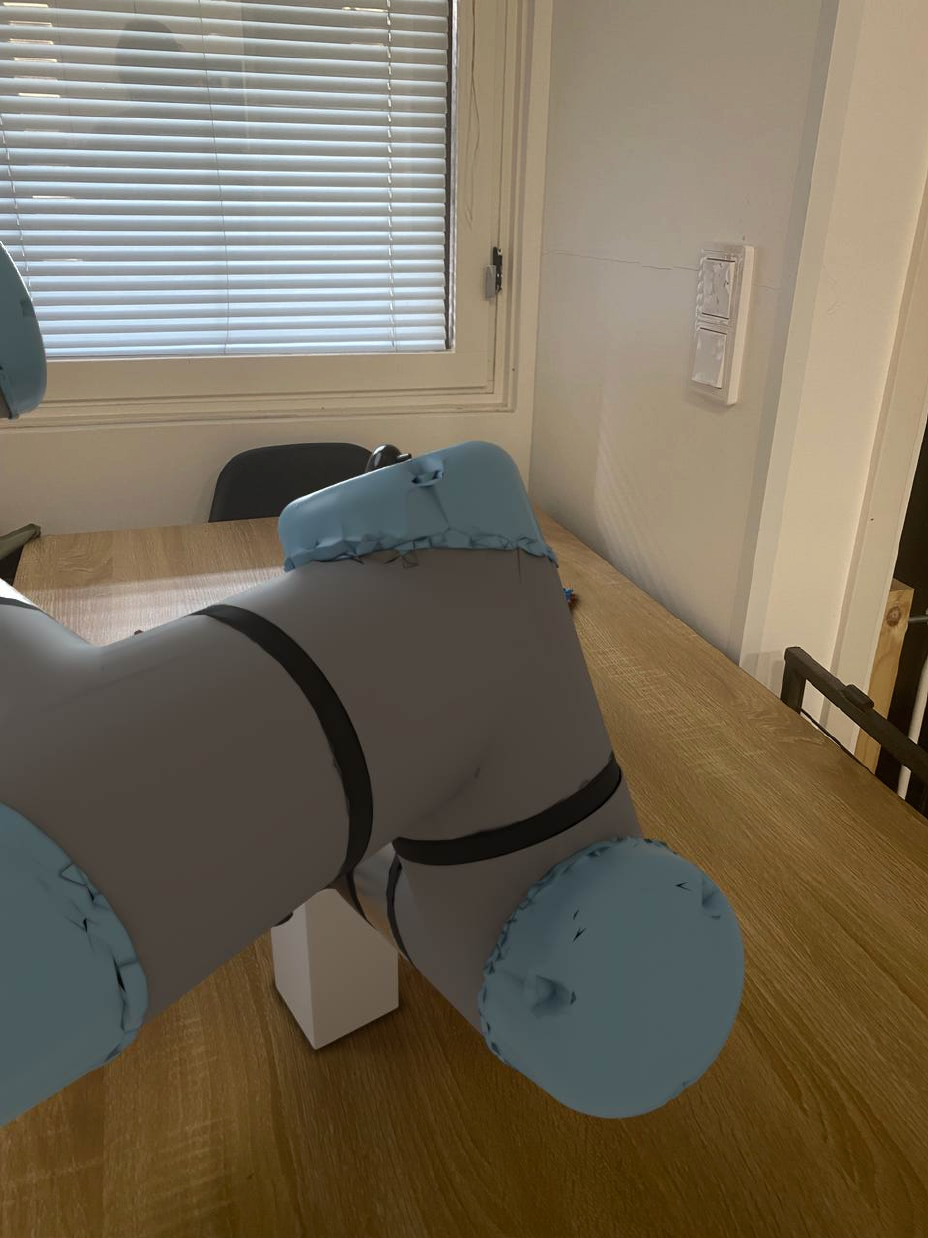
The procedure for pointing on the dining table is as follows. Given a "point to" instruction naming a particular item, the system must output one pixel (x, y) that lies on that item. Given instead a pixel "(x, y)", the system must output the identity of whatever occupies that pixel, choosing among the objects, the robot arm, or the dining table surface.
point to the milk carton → (333, 968)
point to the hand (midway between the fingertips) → (305, 775)
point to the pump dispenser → (385, 457)
